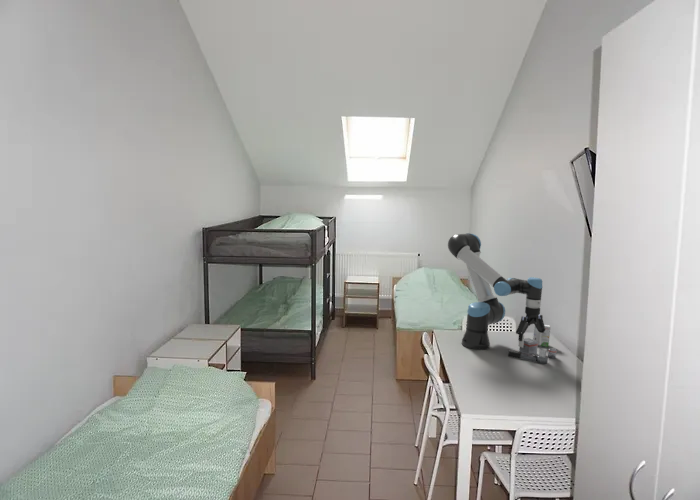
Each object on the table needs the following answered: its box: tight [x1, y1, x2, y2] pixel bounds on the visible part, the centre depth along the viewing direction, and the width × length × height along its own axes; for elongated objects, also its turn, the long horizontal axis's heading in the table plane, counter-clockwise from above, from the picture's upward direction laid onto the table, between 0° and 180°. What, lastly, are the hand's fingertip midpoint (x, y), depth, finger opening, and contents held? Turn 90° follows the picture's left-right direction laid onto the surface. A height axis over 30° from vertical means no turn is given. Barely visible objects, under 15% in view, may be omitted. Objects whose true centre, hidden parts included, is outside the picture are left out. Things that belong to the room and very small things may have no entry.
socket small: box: [547, 347, 558, 359], centre depth 274 cm, size 4×4×4 cm
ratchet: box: [508, 347, 549, 365], centre depth 269 cm, size 19×6×7 cm, turn 60°
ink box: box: [532, 324, 551, 348], centre depth 295 cm, size 8×5×12 cm, turn 70°
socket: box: [518, 337, 538, 355], centre depth 279 cm, size 6×6×7 cm
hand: (529, 345), depth 279 cm, fingers open, 13 cm apart
